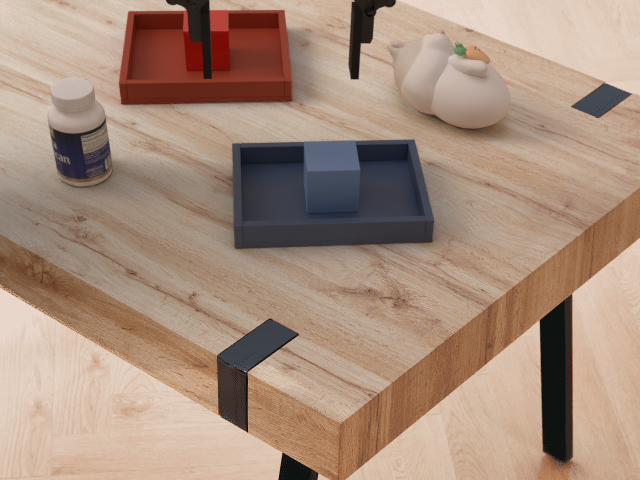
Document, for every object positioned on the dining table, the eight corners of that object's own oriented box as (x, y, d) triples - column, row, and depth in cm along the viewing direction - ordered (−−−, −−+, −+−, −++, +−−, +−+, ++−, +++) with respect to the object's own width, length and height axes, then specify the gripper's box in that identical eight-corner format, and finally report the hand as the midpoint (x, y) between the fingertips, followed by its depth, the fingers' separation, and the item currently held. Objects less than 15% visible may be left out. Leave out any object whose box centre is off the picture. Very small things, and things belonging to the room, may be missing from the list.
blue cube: (303, 183, 107) (303, 141, 104) (353, 181, 108) (355, 139, 104) (306, 213, 103) (307, 171, 100) (358, 212, 104) (360, 169, 101)
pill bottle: (46, 172, 107) (30, 87, 101) (90, 150, 111) (77, 66, 104) (80, 195, 105) (65, 109, 98) (124, 172, 108) (112, 87, 102)
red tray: (121, 104, 117) (118, 83, 116) (130, 30, 130) (128, 10, 128) (291, 101, 120) (291, 80, 118) (284, 29, 132) (284, 9, 130)
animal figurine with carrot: (525, 55, 110) (402, -1, 115) (485, 118, 109) (362, 58, 113) (527, 100, 119) (413, 46, 124) (490, 158, 118) (376, 101, 122)
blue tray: (234, 248, 100) (233, 226, 98) (233, 164, 110) (232, 143, 108) (432, 242, 102) (434, 220, 100) (413, 160, 112) (414, 139, 110)
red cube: (186, 71, 122) (183, 31, 119) (187, 49, 126) (183, 10, 122) (230, 70, 123) (228, 30, 119) (230, 48, 126) (228, 9, 123)
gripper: (121, -149, 82) (143, 92, 96) (441, -140, 85) (418, 93, 99) (128, -182, 88) (148, 51, 102) (428, -172, 91) (408, 52, 105)
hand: (281, 72), depth 101 cm, fingers open, 13 cm apart
